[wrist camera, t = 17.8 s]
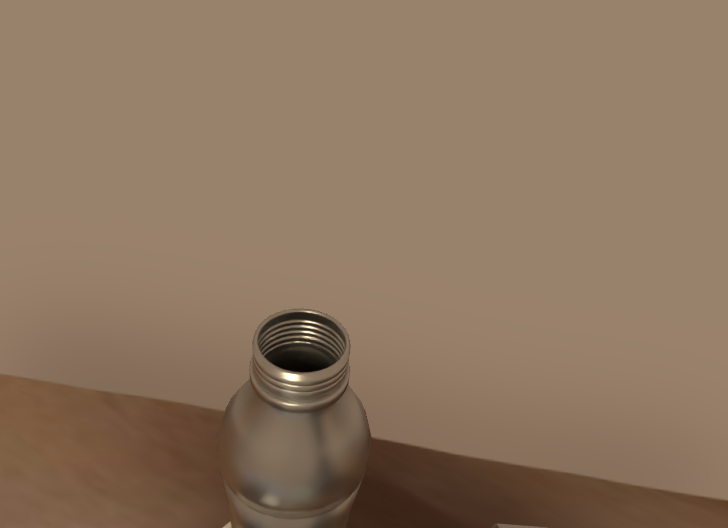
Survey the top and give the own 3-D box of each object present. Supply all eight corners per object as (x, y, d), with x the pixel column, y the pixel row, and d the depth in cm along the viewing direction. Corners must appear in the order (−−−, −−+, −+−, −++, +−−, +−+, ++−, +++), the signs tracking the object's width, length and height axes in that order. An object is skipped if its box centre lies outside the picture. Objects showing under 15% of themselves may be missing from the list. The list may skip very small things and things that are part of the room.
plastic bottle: (213, 693, 32) (199, 407, 21) (227, 563, 38) (222, 281, 27) (344, 690, 33) (399, 412, 22) (339, 562, 39) (381, 288, 27)
